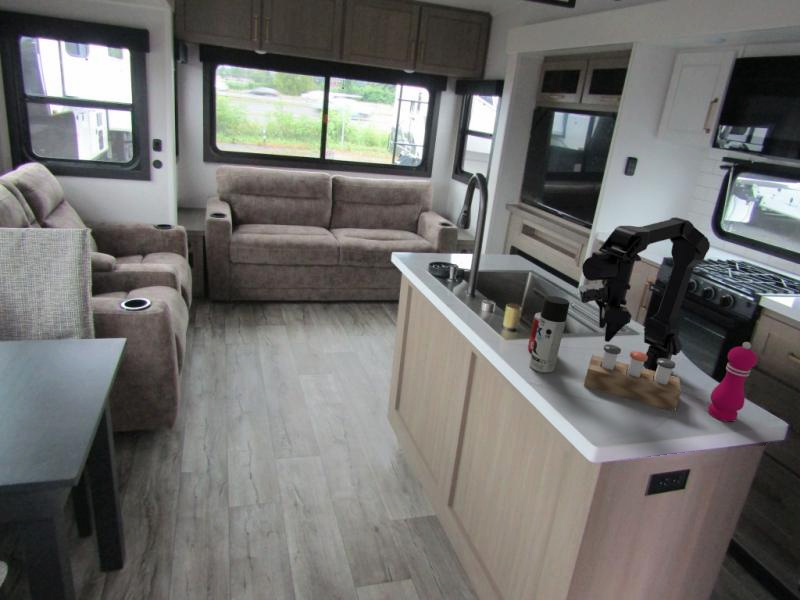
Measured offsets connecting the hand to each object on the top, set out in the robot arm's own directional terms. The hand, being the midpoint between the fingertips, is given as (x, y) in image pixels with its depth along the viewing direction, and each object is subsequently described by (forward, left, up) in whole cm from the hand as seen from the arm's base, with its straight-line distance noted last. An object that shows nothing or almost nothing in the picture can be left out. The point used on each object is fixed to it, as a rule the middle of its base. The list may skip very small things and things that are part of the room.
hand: (603, 334), depth 144 cm
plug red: (-6, +7, -10) cm, 13 cm away
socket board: (-6, +7, -13) cm, 16 cm away
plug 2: (-11, +12, -10) cm, 19 cm away
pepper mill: (-22, +22, -13) cm, 34 cm away
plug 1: (-2, +2, -10) cm, 10 cm away
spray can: (+11, -8, -13) cm, 19 cm away
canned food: (+5, -17, -13) cm, 22 cm away
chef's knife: (-23, +10, -14) cm, 29 cm away
